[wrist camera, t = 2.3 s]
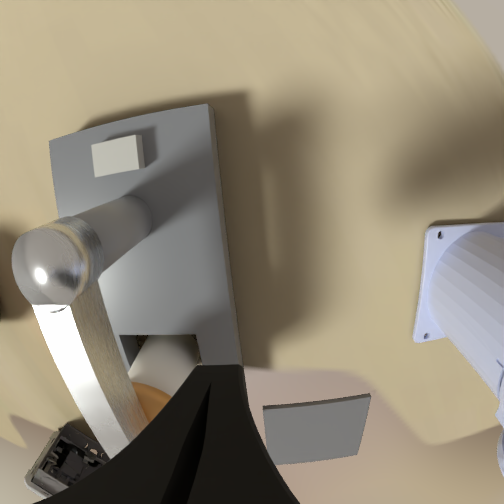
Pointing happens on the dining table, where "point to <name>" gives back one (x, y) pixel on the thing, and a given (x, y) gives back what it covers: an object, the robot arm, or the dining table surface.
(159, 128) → the grey panel with tab
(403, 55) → the dining table surface
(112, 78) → the dining table surface
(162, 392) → the mushroom
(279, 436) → the rubber mat
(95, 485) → the robot arm
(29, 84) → the dining table surface
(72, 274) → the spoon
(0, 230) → the dining table surface
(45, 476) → the electrical switch
